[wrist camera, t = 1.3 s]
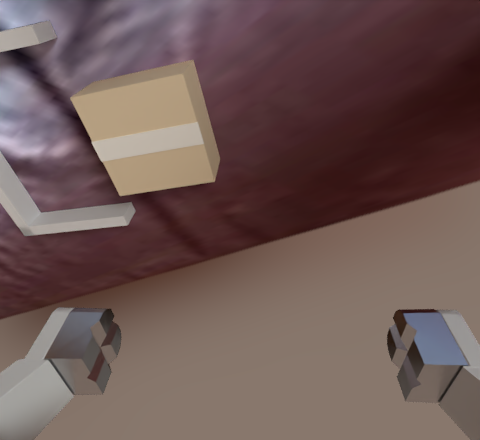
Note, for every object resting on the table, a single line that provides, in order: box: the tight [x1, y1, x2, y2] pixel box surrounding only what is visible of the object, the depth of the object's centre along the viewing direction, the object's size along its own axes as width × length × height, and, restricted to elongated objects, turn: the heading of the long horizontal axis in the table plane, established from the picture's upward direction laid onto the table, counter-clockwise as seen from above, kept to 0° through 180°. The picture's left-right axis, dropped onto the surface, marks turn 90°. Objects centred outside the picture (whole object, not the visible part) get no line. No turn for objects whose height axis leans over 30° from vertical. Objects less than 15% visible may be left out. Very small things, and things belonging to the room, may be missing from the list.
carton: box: [70, 60, 220, 196], centre depth 29 cm, size 9×9×5 cm
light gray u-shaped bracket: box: [0, 21, 135, 236], centre depth 31 cm, size 12×18×2 cm, turn 10°
